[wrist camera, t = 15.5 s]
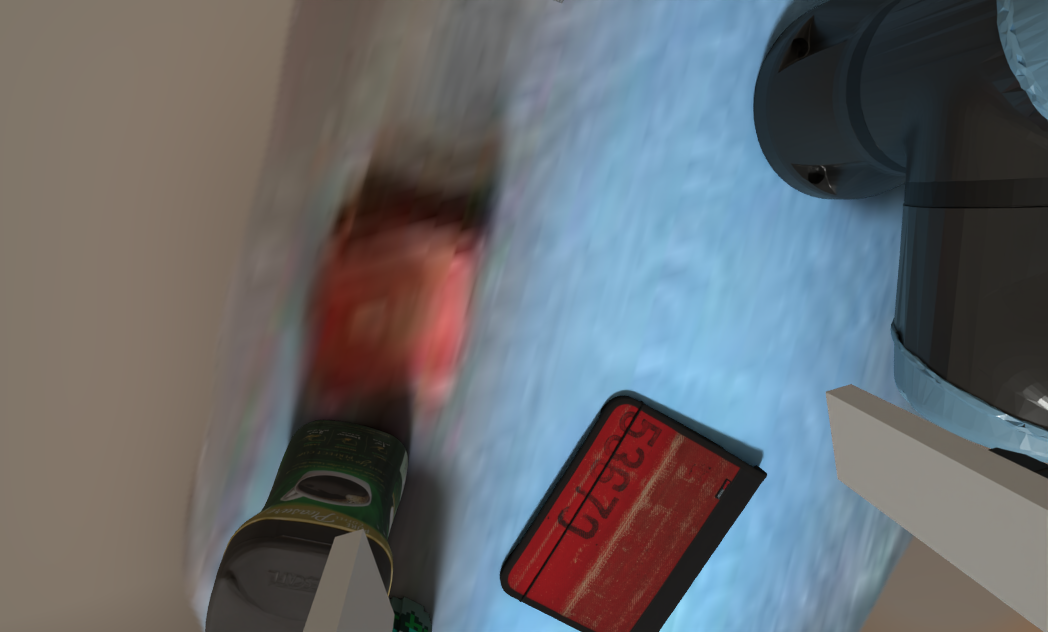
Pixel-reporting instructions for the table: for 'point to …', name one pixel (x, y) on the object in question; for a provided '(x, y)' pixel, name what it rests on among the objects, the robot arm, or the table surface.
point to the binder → (629, 522)
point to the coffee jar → (309, 526)
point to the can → (409, 616)
